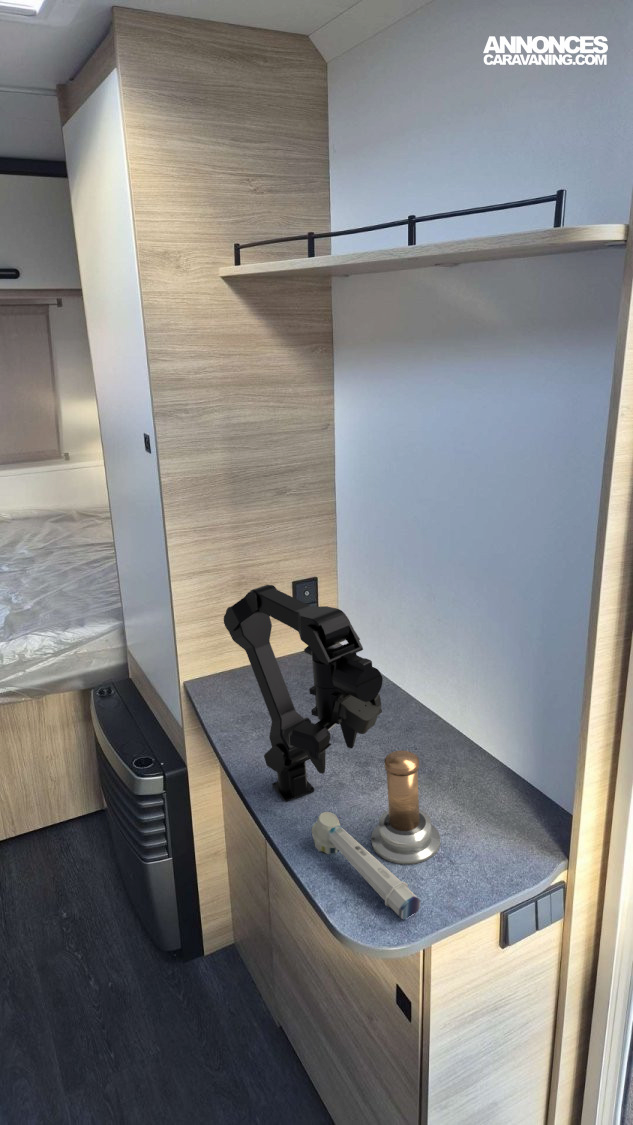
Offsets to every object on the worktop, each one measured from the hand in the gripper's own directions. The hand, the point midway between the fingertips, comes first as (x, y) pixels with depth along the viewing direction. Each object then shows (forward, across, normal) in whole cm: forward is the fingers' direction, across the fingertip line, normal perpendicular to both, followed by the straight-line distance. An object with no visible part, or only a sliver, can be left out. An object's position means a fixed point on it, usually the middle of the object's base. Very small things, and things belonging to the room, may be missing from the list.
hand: (336, 759), depth 141 cm
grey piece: (+14, -10, -11) cm, 20 cm away
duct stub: (+13, +1, -13) cm, 18 cm away
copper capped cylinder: (+9, +1, -13) cm, 16 cm away
